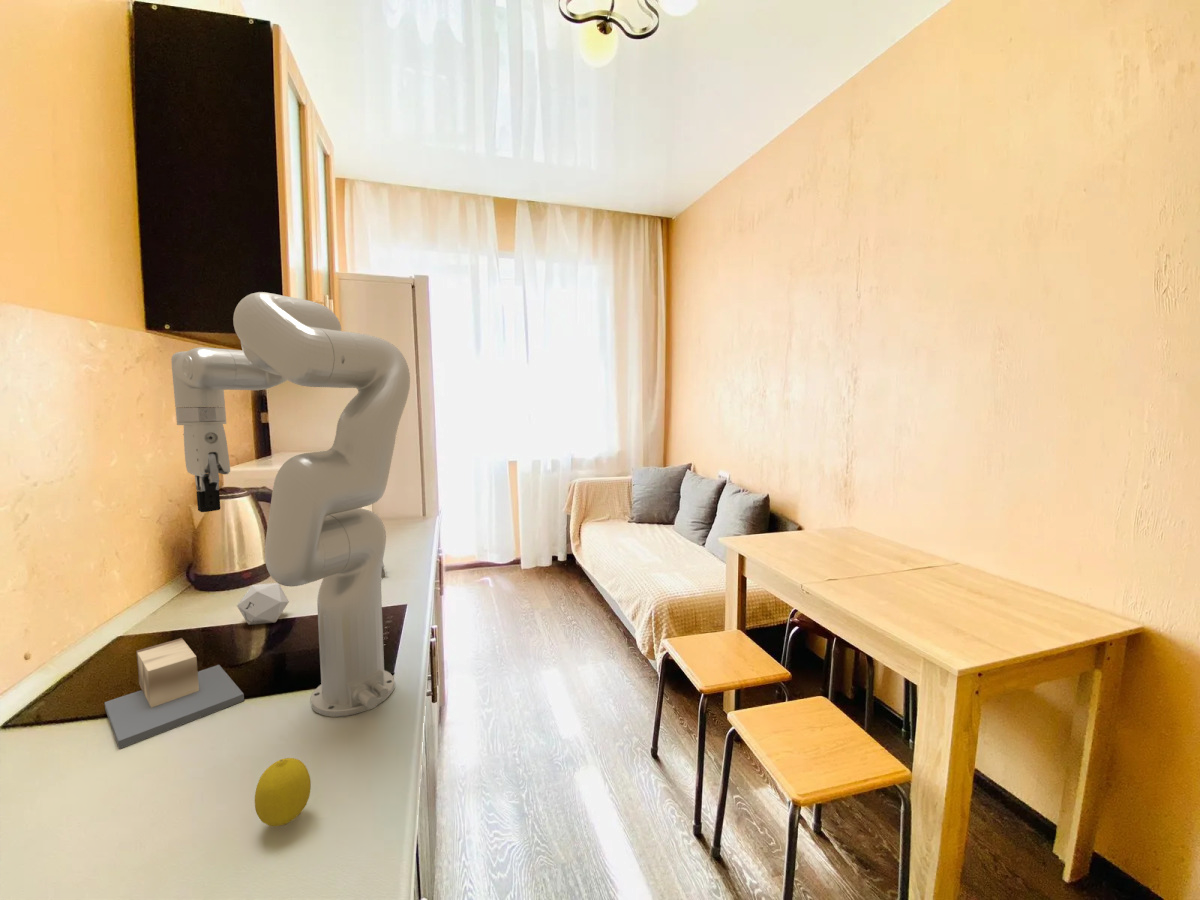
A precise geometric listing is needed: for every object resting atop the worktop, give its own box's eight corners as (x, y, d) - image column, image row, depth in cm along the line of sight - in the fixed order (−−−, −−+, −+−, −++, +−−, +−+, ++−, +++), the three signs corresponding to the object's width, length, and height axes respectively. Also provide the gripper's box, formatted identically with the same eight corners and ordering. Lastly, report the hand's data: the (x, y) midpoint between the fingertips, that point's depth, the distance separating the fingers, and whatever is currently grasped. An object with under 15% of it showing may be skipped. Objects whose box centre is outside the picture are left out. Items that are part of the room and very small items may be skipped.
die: (238, 622, 113) (223, 598, 106) (273, 591, 119) (260, 567, 113) (266, 639, 111) (253, 616, 104) (300, 608, 118) (289, 584, 111)
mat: (244, 700, 82) (243, 693, 82) (119, 748, 71) (118, 741, 71) (219, 670, 91) (219, 664, 91) (105, 709, 80) (104, 702, 80)
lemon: (245, 835, 57) (240, 770, 56) (290, 799, 62) (286, 739, 61) (279, 851, 55) (275, 783, 54) (323, 812, 60) (320, 750, 59)
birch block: (184, 670, 89) (199, 690, 83) (139, 684, 85) (151, 707, 78) (181, 637, 89) (196, 656, 82) (136, 650, 84) (148, 671, 78)
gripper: (238, 416, 95) (245, 512, 96) (213, 416, 104) (220, 503, 105) (188, 417, 89) (196, 519, 90) (166, 417, 98) (174, 509, 99)
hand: (209, 510), depth 98 cm, fingers closed
